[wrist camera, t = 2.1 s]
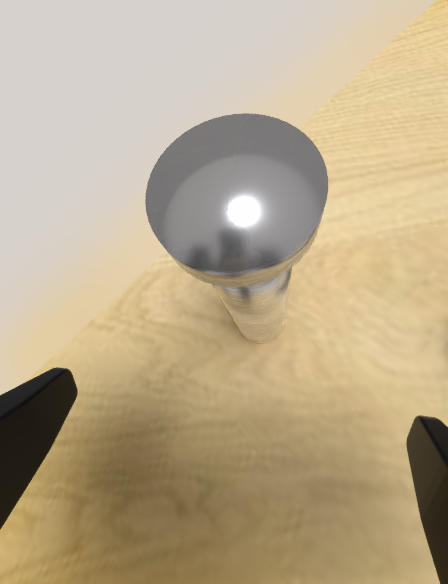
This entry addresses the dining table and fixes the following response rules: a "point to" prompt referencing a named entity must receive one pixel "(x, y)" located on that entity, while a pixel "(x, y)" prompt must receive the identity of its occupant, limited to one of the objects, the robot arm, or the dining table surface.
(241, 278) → the hinge pin
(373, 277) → the dining table surface
